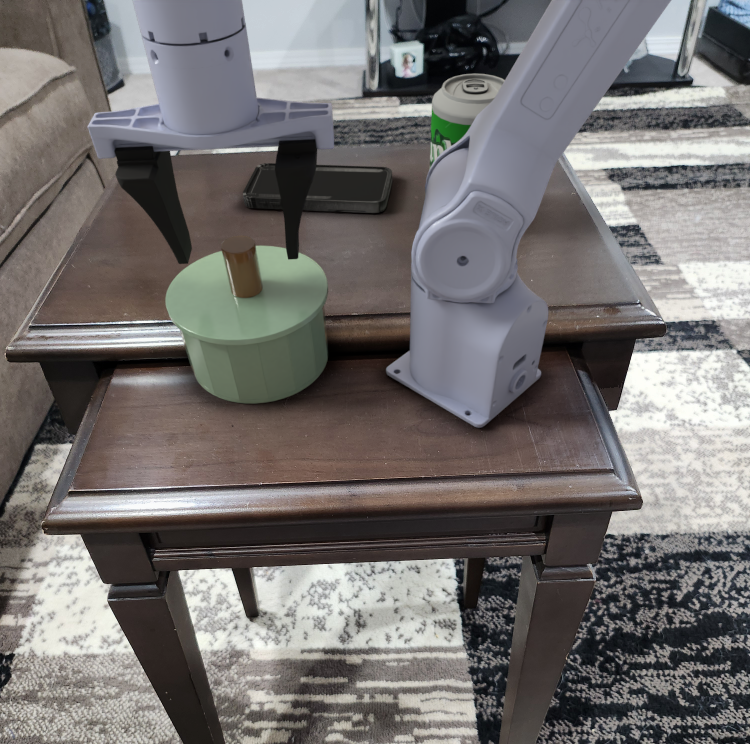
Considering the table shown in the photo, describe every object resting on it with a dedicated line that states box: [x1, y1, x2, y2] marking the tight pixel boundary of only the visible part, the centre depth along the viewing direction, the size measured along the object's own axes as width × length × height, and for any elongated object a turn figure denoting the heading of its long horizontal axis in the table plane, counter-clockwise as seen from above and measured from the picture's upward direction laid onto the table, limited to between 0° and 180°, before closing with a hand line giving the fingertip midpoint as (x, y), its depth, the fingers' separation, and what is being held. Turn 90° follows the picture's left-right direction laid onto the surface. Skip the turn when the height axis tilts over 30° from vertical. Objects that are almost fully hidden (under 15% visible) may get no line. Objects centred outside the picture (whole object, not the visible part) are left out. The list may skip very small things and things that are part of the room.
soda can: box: [429, 73, 505, 168], centre depth 63 cm, size 8×8×12 cm
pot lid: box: [164, 234, 329, 345], centre depth 48 cm, size 12×12×5 cm
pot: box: [179, 305, 329, 404], centre depth 52 cm, size 11×11×6 cm
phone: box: [242, 162, 393, 214], centre depth 71 cm, size 8×1×15 cm
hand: (239, 254), depth 47 cm, fingers open, 7 cm apart
